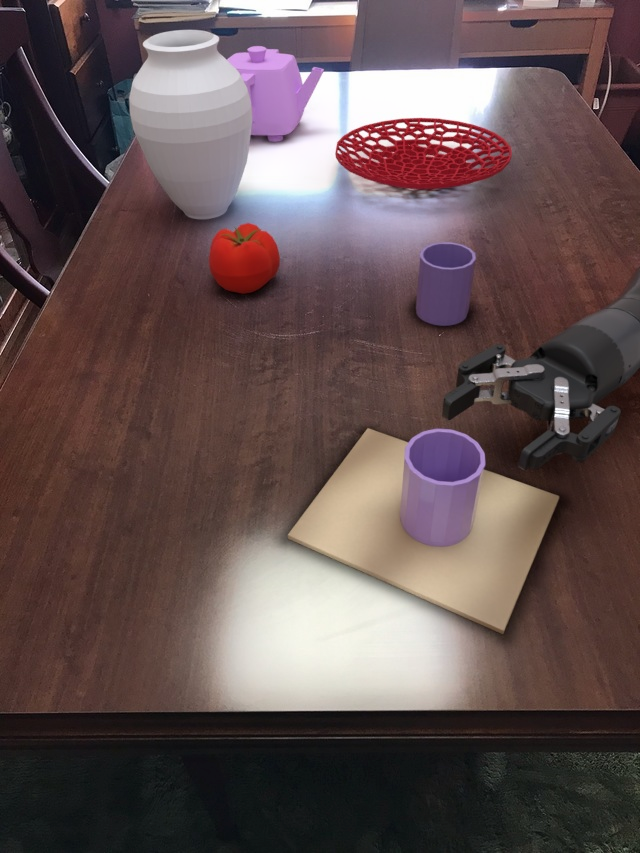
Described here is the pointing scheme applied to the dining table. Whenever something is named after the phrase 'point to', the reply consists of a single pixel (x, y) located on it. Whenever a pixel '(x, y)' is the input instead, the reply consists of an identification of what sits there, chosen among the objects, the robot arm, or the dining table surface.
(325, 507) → the mat
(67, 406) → the dining table surface
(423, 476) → the lavender cup
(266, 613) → the dining table surface
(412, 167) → the bowl
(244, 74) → the teapot
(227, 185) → the vase
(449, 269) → the lilac cup
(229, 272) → the tomato
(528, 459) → the robot arm
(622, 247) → the dining table surface
